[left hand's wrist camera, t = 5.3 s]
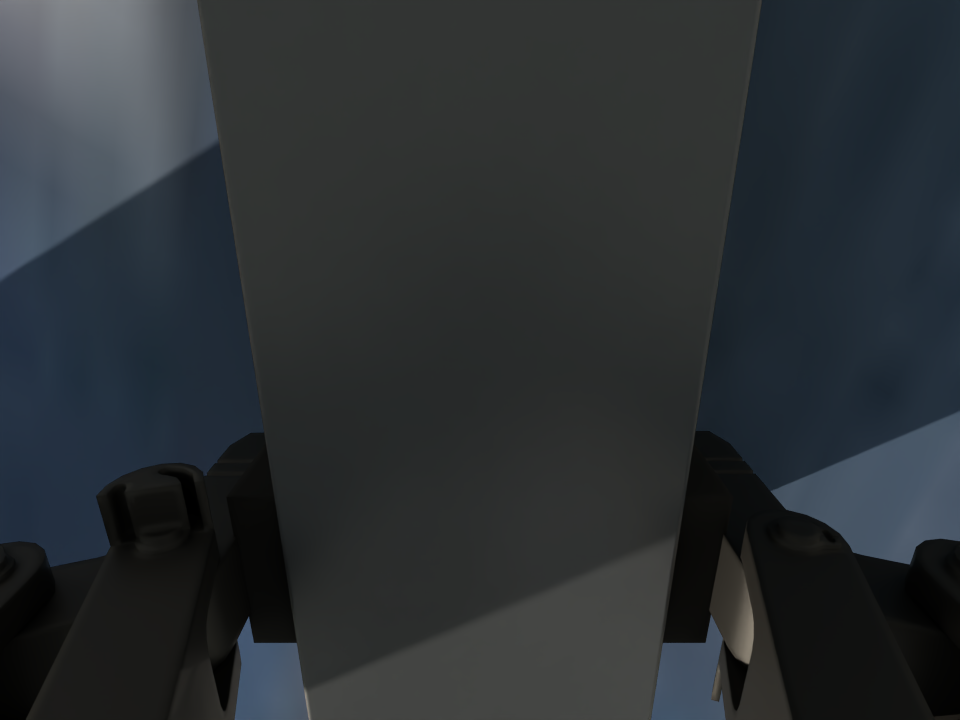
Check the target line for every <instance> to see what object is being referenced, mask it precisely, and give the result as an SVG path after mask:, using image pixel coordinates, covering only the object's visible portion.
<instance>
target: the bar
mask: <svg viewBox="0 0 960 720" xmlns="http://www.w3.org/2000/svg"><path fill="white" fill-rule="evenodd" d="M197 2H198V9H199V15H200V22H201V28H202V34H203V41H204V47H205V54H206V60H207V67H208V73H209V80H210V86H211V92H212V99H213V105H214V112H215V118H216V125H217V131H218V137H219V144H220V150H221V157H222V163H223V170H224V176H225V183H226V189H227V195H228V202H229V208H230V215H231V221H232V228H233V234H234V240H235V247H236V253H237V260H238V266H239V273H240V279H241V286H242V292H243V298H244V305H245V311H246V318H247V324H248V331H249V337H250V344H251V350H252V356H253V363H254V369H255V376H256V382H257V389H258V395H259V401H260V408H261V414H262V421H263V427H264V434H265V440H266V447H267V453H268V459H269V466H270V472H271V479H272V485H273V492H274V498H275V504H276V511H277V517H278V524H279V530H280V537H281V543H282V550H283V556H284V562H285V569H286V575H287V582H288V588H289V595H290V601H291V607H292V614H293V620H294V627H295V633H296V640H297V646H298V653H299V659H300V665H301V672H302V678H303V685H304V691H305V698H306V704H307V710H308V717H309V720H651V715H652V709H653V702H654V696H655V689H656V683H657V676H658V670H659V663H660V657H661V650H662V644H663V638H664V631H665V625H666V618H667V612H668V605H669V599H670V592H671V586H672V579H673V573H674V566H675V560H676V554H677V547H678V541H679V534H680V528H681V521H682V515H683V508H684V502H685V495H686V489H687V482H688V476H689V469H690V463H691V457H692V450H693V444H694V437H695V431H696V424H697V418H698V411H699V405H700V398H701V392H702V385H703V379H704V372H705V366H706V360H707V353H708V347H709V340H710V334H711V327H712V321H713V314H714V308H715V301H716V295H717V288H718V282H719V276H720V269H721V263H722V256H723V250H724V243H725V237H726V230H727V224H728V217H729V211H730V204H731V198H732V191H733V185H734V179H735V172H736V166H737V159H738V153H739V146H740V140H741V133H742V127H743V120H744V114H745V107H746V101H747V95H748V88H749V82H750V75H751V69H752V62H753V56H754V49H755V43H756V36H757V30H758V23H759V17H760V10H761V4H762V0H197Z"/></svg>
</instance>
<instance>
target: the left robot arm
mask: <svg viewBox="0 0 960 720" xmlns="http://www.w3.org/2000/svg"><path fill="white" fill-rule="evenodd" d="M96 498H97V501H98V505H99V508H100V511H101V515H102V518H103V522H104V525H105V529H106V532H107V536H108V539H109V543H110V546H111V547H110V549H109V551H108V553H107V555H106V556H102V557H98V558H94V559H89V560H84V561H79V562H74V563H69V564H64V565H59V566H54V567H50V565H49V562H48V559H47V556H46V553H45V550H44V549H43V548H41V547H40V546H39V545H37V544H36V543H29V542H20V541H19V542H12V543H4V544H0V720H234V719H235V711H236V703H237V695H238V687H239V679H240V671H241V658H240V651H239V646H238V641H237V639H238V637H239V635H240V633H241V631H242V629H243V627H244V625H245V623H246V621H247V619H248V617H249V619H250V624H251V629H252V634H253V639H254V643H297V640H296V633H295V627H294V620H293V614H292V607H291V601H290V595H289V588H288V582H287V575H286V569H285V562H284V556H283V550H282V543H281V537H280V530H279V524H278V517H277V511H276V504H275V498H274V492H273V485H272V479H271V472H270V466H269V459H268V453H267V447H266V440H265V434H264V433H250V434H248V435H247V436H245V437H243V438H242V439H240V440H238V441H237V442H235V443H234V444H232V445H230V446H229V447H228V449H227V450H226V451H225V452H224V453H223V455H222V456H221V457H220V458H219V459H218V463H215V464H214V465H213V466H212V468H211V469H210V470H209V471H208V472H207V476H203V472H202V471H201V470H200V469H198V468H197V467H195V466H193V465H188V464H183V463H169V464H159V465H155V466H150V467H145V468H141V469H139V470H136V471H134V472H131V473H128V474H126V475H123V476H121V477H120V478H118V479H116V480H115V481H113V482H111V483H110V484H108V485H106V486H105V487H104V488H103V490H102V491H101V492H100V493H99V494H98V495H97V496H96ZM711 615H712V617H713V619H714V621H715V623H716V625H717V627H718V629H719V631H720V633H721V635H722V637H723V641H722V646H721V651H720V656H719V661H718V666H717V670H716V675H715V680H714V685H713V691H712V698H711V700H714V701H718V702H719V699H720V695H721V690H722V693H723V701H724V709H725V718H726V720H960V541H953V540H946V539H935V540H926V541H924V542H922V543H921V544H920V545H918V546H917V547H916V549H915V552H914V555H913V558H912V561H911V563H910V565H909V564H904V563H899V562H894V561H889V560H884V559H879V558H874V557H869V556H864V555H860V554H856V553H853V552H852V550H851V548H850V546H849V545H848V543H847V542H846V541H845V540H844V538H843V537H842V536H841V535H840V534H839V533H838V532H837V531H835V530H834V529H832V528H831V527H829V526H828V525H827V524H825V523H823V522H821V521H819V520H817V519H814V518H812V517H810V516H808V515H805V514H801V513H797V512H793V511H789V510H786V509H785V508H784V507H783V506H782V504H781V503H780V502H779V501H778V500H777V499H776V497H775V496H774V495H773V494H772V493H771V492H770V490H769V489H768V488H767V487H766V486H765V484H764V483H763V482H762V481H761V480H760V479H759V477H758V476H757V475H756V474H753V470H752V469H751V468H750V467H749V466H748V464H747V463H746V462H745V461H742V457H741V456H740V455H739V454H738V453H737V452H736V450H735V449H734V448H733V447H732V446H731V444H730V443H728V442H726V441H725V440H723V439H721V438H720V437H718V436H716V435H715V434H713V433H711V432H710V431H695V437H694V444H693V450H692V457H691V463H690V469H689V476H688V482H687V489H686V495H685V502H684V508H683V515H682V521H681V528H680V534H679V541H678V547H677V554H676V560H675V566H674V573H673V579H672V586H671V592H670V599H669V605H668V612H667V618H666V625H665V631H664V638H663V643H706V638H707V632H708V627H709V622H710V617H711Z"/></svg>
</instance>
